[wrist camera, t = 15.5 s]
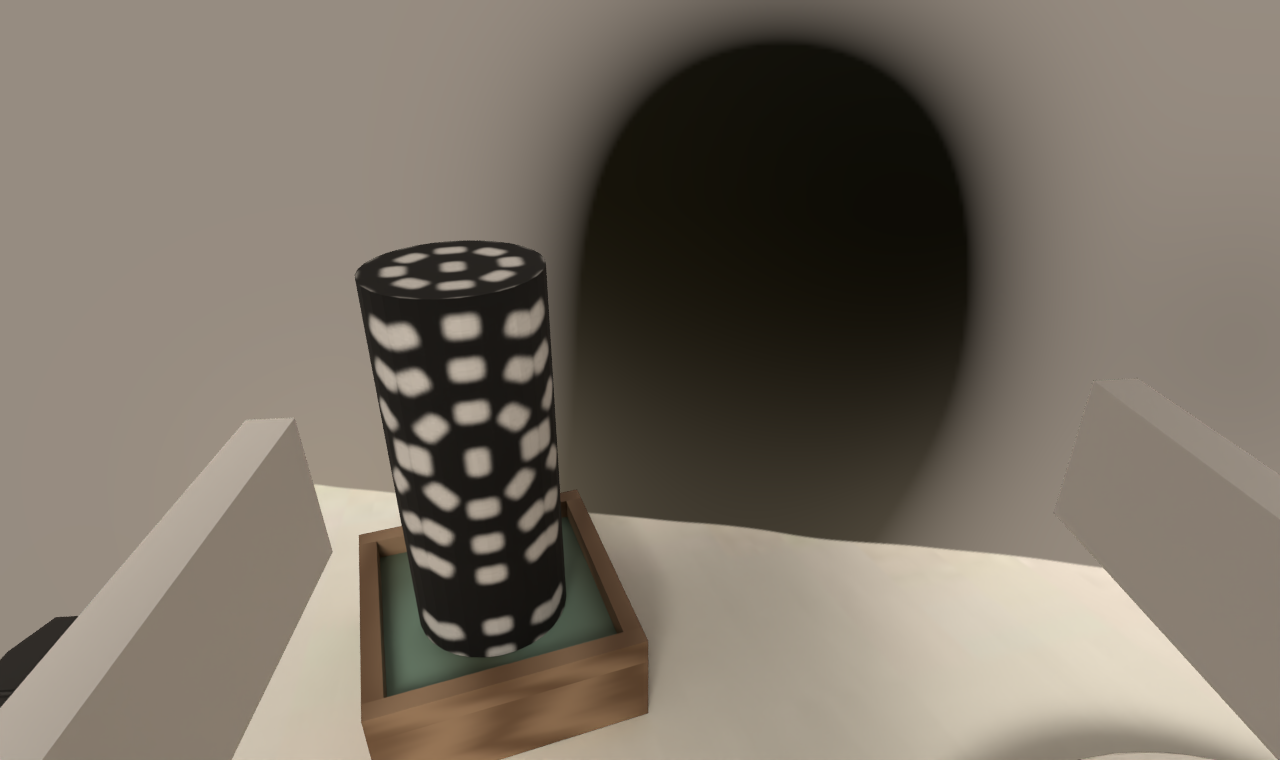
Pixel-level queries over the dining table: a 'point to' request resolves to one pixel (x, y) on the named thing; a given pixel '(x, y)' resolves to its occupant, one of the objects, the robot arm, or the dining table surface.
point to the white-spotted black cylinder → (470, 436)
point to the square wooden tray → (497, 661)
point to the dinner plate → (1146, 756)
